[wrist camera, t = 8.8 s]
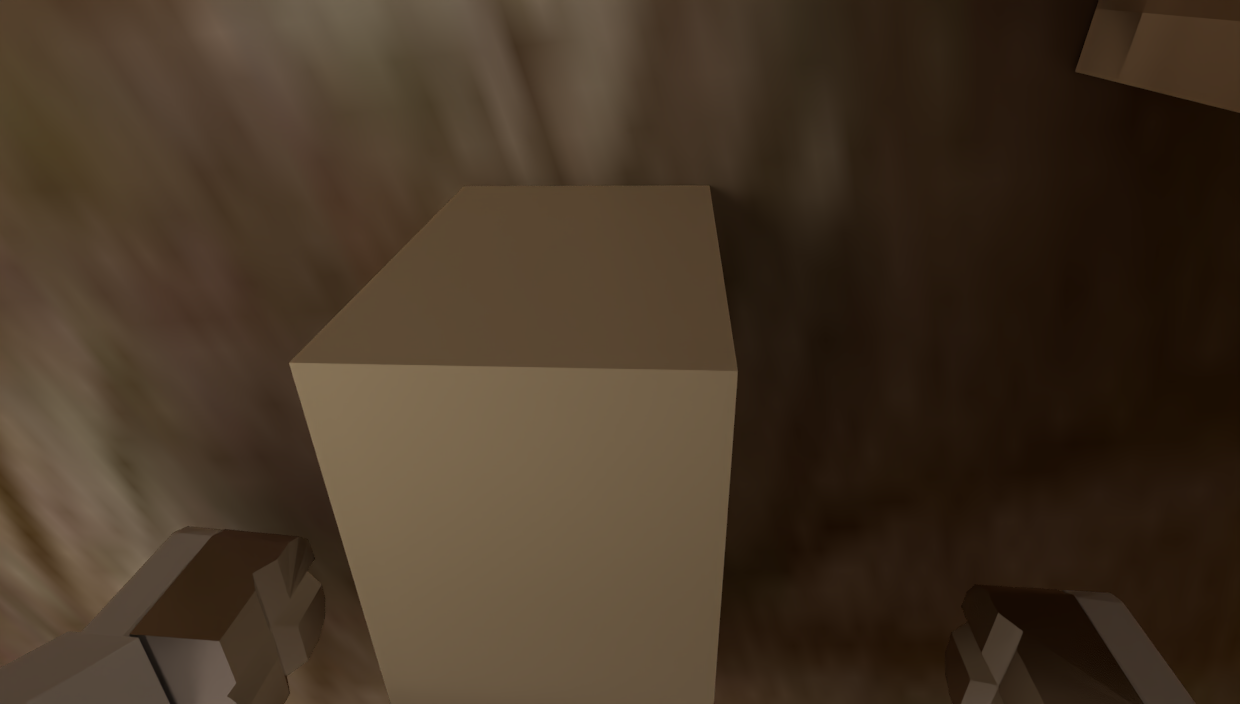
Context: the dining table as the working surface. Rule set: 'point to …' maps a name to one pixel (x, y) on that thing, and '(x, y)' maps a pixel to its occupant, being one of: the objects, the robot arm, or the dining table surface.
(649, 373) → the tan rectangular block
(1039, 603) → the robot arm
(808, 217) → the dining table surface
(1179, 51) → the crate
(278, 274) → the dining table surface
